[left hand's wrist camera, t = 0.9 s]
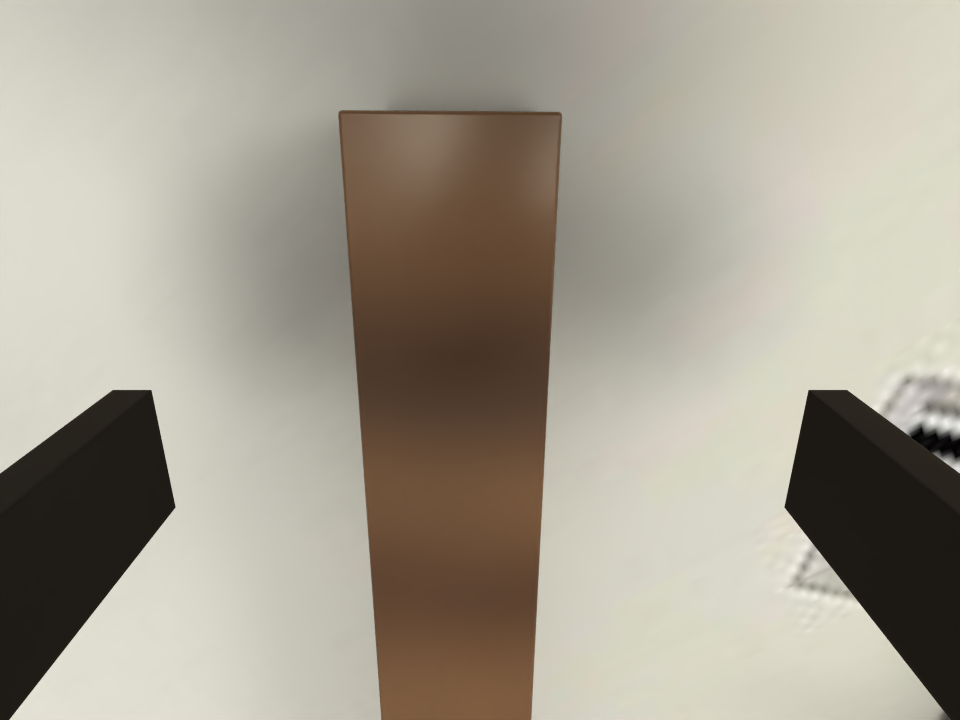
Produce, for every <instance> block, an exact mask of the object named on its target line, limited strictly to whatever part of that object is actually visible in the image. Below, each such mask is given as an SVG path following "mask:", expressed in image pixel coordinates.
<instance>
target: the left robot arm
mask: <svg viewBox="0 0 960 720" xmlns="http://www.w3.org/2000/svg"><path fill="white" fill-rule="evenodd" d="M174 509H175V503H174V498H173V493H172V488H171V483H170V478H169V474H168V469H167V464H166V459H165V454H164V449H163V444H162V439H161V435H160V430H159V425H158V420H157V415H156V410H155V405H154V401H153V396H152V391H151V390H112V391H111V392H110V393H108V394H107V395H106V396H104V397H103V398H102V399H100V400H99V401H98V402H96V403H95V404H94V405H92V406H91V407H90V408H88V409H87V410H85V411H84V412H83V413H81V414H80V415H79V416H77V417H76V418H75V419H73V420H72V421H71V422H69V423H68V424H67V425H65V426H64V427H63V428H61V429H60V430H58V431H57V432H56V433H54V434H53V435H52V436H50V437H49V438H48V439H46V440H45V441H44V442H42V443H41V444H40V445H38V446H37V447H36V448H34V449H33V450H31V451H30V452H29V453H27V454H26V455H25V456H23V457H22V458H21V459H19V460H18V461H17V462H15V463H14V464H13V465H11V466H10V467H9V468H7V469H6V470H4V471H3V472H2V473H0V720H9V719H10V718H11V717H12V715H13V714H14V713H15V712H16V710H17V709H18V708H19V707H20V705H21V704H22V703H23V701H24V700H25V699H26V698H27V696H28V695H29V694H30V692H31V691H32V690H33V689H34V687H35V686H36V685H37V684H38V682H39V681H40V680H41V678H42V677H43V676H44V675H45V673H46V672H47V671H48V669H49V668H50V667H51V666H52V664H53V663H54V662H55V661H56V659H57V658H58V657H59V655H60V654H61V653H62V652H63V650H64V649H65V648H66V647H67V645H68V644H69V643H70V641H71V640H72V639H73V638H74V636H75V635H76V634H77V632H78V631H79V630H80V629H81V627H82V626H83V625H84V624H85V622H86V621H87V620H88V618H89V617H90V616H91V615H92V613H93V612H94V611H95V609H96V608H97V607H98V606H99V604H100V603H101V602H102V601H103V599H104V598H105V597H106V595H107V594H108V593H109V592H110V590H111V589H112V588H113V586H114V585H115V584H116V583H117V581H118V580H119V579H120V578H121V576H122V575H123V574H124V572H125V571H126V570H127V569H128V567H129V566H130V565H131V563H132V562H133V561H134V560H135V558H136V557H137V556H138V555H139V553H140V552H141V551H142V549H143V548H144V547H145V546H146V544H147V543H148V542H149V540H150V539H151V538H152V537H153V535H154V534H155V533H156V532H157V530H158V529H159V528H160V526H161V525H162V524H163V523H164V521H165V520H166V519H167V517H168V516H169V515H170V514H171V512H172V511H173V510H174ZM785 509H786V510H787V511H788V512H789V514H790V515H791V516H792V517H793V519H794V520H795V521H796V523H797V524H798V525H799V526H800V528H801V529H802V530H803V532H804V533H805V534H806V535H807V537H808V538H809V539H810V540H811V542H812V543H813V544H814V546H815V547H816V548H817V549H818V551H819V552H820V553H821V555H822V556H823V557H824V558H825V560H826V561H827V562H828V563H829V565H830V566H831V567H832V569H833V570H834V571H835V572H836V574H837V575H838V576H839V578H840V579H841V580H842V581H843V583H844V584H845V585H846V586H847V588H848V589H849V590H850V592H851V593H852V594H853V595H854V597H855V598H856V599H857V601H858V602H859V603H860V604H861V606H862V607H863V608H864V609H865V611H866V612H867V613H868V615H869V616H870V617H871V618H872V620H873V621H874V622H875V624H876V625H877V626H878V627H879V629H880V630H881V631H882V632H883V634H884V635H885V636H886V638H887V639H888V640H889V641H890V643H891V644H892V645H893V647H894V648H895V649H896V650H897V652H898V653H899V654H900V655H901V657H902V658H903V659H904V661H905V662H906V663H907V664H908V666H909V667H910V668H911V670H912V671H913V672H914V673H915V675H916V676H917V677H918V678H919V680H920V681H921V682H922V684H923V685H924V686H925V687H926V689H927V690H928V691H929V692H930V694H931V695H932V696H933V698H934V699H935V700H936V701H937V703H938V704H939V705H940V707H941V708H942V709H943V710H944V712H945V713H946V714H947V715H948V717H949V718H950V719H951V720H960V473H958V472H957V471H956V470H954V469H953V468H951V467H950V466H949V465H947V464H946V463H945V462H943V461H942V460H941V459H939V458H938V457H937V456H935V455H934V454H933V453H931V452H930V451H929V450H927V449H926V448H924V447H923V446H922V445H920V444H919V443H918V442H916V441H915V440H914V439H912V438H911V437H910V436H908V435H907V434H906V433H904V432H903V431H902V430H900V429H899V428H897V427H896V426H895V425H893V424H892V423H891V422H889V421H888V420H887V419H885V418H884V417H883V416H881V415H880V414H879V413H877V412H876V411H875V410H873V409H872V408H870V407H869V406H868V405H866V404H865V403H864V402H862V401H861V400H860V399H858V398H857V397H856V396H854V395H853V394H852V393H850V392H849V391H848V390H809V391H808V396H807V401H806V405H805V410H804V415H803V420H802V425H801V430H800V435H799V439H798V444H797V449H796V454H795V459H794V464H793V469H792V474H791V478H790V483H789V488H788V493H787V498H786V503H785Z"/></svg>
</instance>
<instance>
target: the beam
mask: <svg viewBox="0 0 960 720" xmlns="http://www.w3.org/2000/svg"><path fill="white" fill-rule="evenodd" d="M338 116H339V130H340V144H341V158H342V172H343V186H344V200H345V214H346V228H347V242H348V256H349V270H350V284H351V298H352V312H353V326H354V340H355V355H356V369H357V383H358V397H359V411H360V425H361V439H362V453H363V467H364V481H365V495H366V509H367V523H368V537H369V551H370V565H371V579H372V593H373V607H374V621H375V635H376V649H377V663H378V677H379V691H380V705H381V720H531V712H532V693H533V673H534V653H535V634H536V614H537V594H538V575H539V555H540V536H541V516H542V496H543V477H544V457H545V437H546V418H547V398H548V379H549V359H550V339H551V320H552V300H553V280H554V261H555V241H556V222H557V202H558V182H559V163H560V143H561V123H562V115H561V113H560V112H497V111H357V110H341V111H339V114H338Z"/></svg>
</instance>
